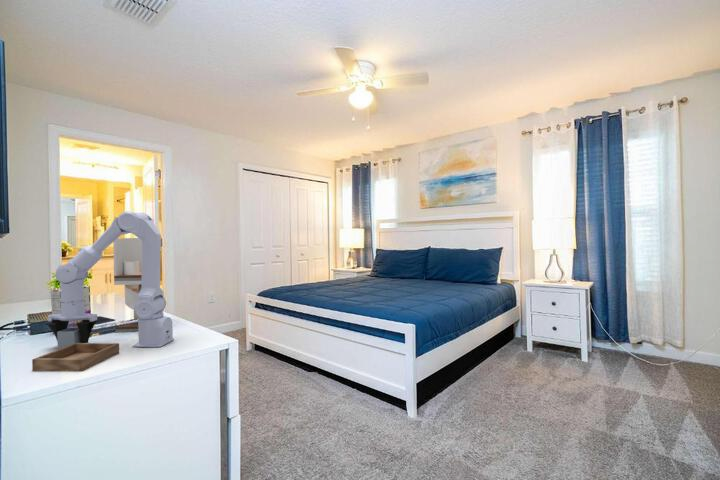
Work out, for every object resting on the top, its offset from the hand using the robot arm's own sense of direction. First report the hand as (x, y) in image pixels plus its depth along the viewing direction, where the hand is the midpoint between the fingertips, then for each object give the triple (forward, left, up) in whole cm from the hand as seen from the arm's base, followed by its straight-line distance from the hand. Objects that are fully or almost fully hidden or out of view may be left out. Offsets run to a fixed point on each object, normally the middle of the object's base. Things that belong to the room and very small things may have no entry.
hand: (73, 343), depth 111 cm
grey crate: (0, 0, -2) cm, 2 cm away
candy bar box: (+17, -19, -2) cm, 26 cm away
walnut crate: (-12, +12, -2) cm, 17 cm away
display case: (-6, -23, -2) cm, 24 cm away
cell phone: (+19, -34, -2) cm, 39 cm away
